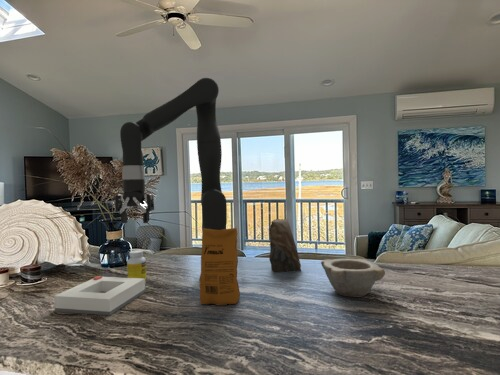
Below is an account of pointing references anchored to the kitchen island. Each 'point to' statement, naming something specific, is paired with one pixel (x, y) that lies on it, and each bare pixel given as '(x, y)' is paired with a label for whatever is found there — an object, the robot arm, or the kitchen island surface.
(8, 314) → the kitchen island surface
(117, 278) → the socket block
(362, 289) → the mortar
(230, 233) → the coffee package
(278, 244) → the brown rock
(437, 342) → the kitchen island surface
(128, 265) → the pill bottle
